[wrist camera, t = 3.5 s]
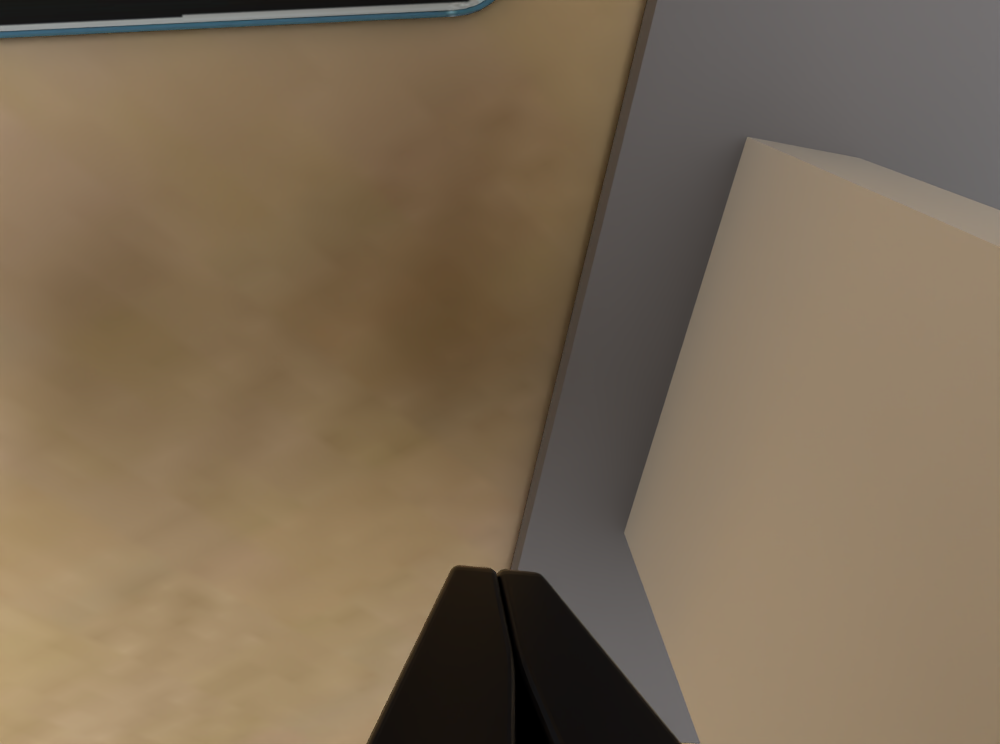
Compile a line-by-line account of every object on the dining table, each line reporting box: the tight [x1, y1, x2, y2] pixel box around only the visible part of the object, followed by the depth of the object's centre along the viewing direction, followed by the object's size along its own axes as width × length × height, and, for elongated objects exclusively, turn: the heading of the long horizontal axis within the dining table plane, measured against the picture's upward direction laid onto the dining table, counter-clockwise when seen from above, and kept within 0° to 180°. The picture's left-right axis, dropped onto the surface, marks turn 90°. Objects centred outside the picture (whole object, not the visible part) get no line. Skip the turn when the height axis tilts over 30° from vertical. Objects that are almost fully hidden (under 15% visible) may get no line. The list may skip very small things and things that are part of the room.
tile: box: [624, 137, 1000, 744], centre depth 10 cm, size 8×2×9 cm, turn 170°
